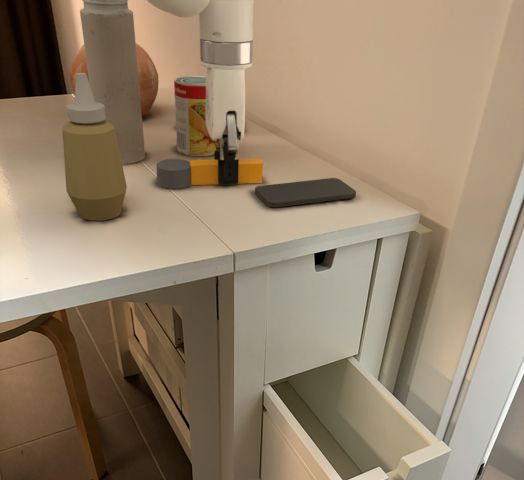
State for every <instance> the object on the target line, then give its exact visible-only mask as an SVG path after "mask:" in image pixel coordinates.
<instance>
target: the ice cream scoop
mask: <svg viewBox="0 0 524 480" xmlns="http://www.w3.org/2000/svg"><path fill="white" fill-rule="evenodd" d="M238 159H239V172H238V183H237V184H236V185H238V184H262V183H263V171H264V163H263V161H262V160H261V158H238ZM155 169H156V181H157V185H158V186H159V187H161V188H164V189H169V190H180V189H186V188H189V187H191V186H205V185H206V186H207V185H208V186H209V185H211V186H212V185H220V184H219V182H218V159H216V160H215V159H189V160H186V159H181V158H166V159H163V160H159V161H158V162H157V163H156V166H155Z"/></svg>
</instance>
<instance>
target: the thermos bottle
mask: <svg viewBox="0 0 524 480" xmlns="http://www.w3.org/2000/svg"><path fill="white" fill-rule="evenodd" d="M81 1H82V2H83V8H81V9H80V10H79V16H80V23H81V30H82V39H83V45H84V46H85V54H86V61H87V69H88V76H89V84H90V87H91V90H92V93H93V96H94V99H95V102H98V103H102V104H103V105H104V106H105V114H106V119H105V120H106V121H108V122H110V123H111V124H112V125H113V126H114V128H115V133H116V138H117V142H118V147H119V152H120V157H121V161H122V165H125V164H127V165H128V164H134V163H137V162H138V163H139V162H141V161H143V160H144V159H145V157H146V149H145V148H146V147H145V137H144V125H143V119H142V115H141V104H140V89H139V77H138V66H137V54H136V43H137V42H136V31H135V20H134V12H133V10H131V9H130V8H129V5H128V1H129V0H81Z"/></svg>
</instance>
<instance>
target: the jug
mask: <svg viewBox="0 0 524 480" xmlns="http://www.w3.org/2000/svg"><path fill="white" fill-rule="evenodd" d="M136 54H137V66H138V77H139V89H140V104H141V115H142V120H144V119H145V118H147V116H148V114H149V112H150V111H151V109H152V107H153V105H154V103H155V101H156V98H157V97H158V92H159V74H158V70H157V68H156V65H155V63H154V61H153V59H152V57H151V56H150V54H149V53H148V52H147V51H146V50H145V48H144V47H142V46H141V45H140V44H138V43H137V42H136ZM77 73H86V75H87V78H88V81H89V76H88V69H87V61H86V54H85V46H84V44H83V45H82V46H81V47H80V48H79V50H78V51H77V53H76V55H75V56H74V58H73V60H72V63H71V64H70V66H69V72H68V77H69V82H70V87H71V89H72V93H73V94H74V95H75V86H76V74H77Z"/></svg>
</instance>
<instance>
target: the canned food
mask: <svg viewBox="0 0 524 480" xmlns="http://www.w3.org/2000/svg"><path fill="white" fill-rule="evenodd" d="M173 85H174V86H173V88H174V89H173V90H174V107H175V109H174V110H175V127H176V145H177V146H176V147H177V148H176V149H177V151H178V152H179V153H180V154H183V155H185V156H191V157H208V156H213V155H214V150H216V149H215V141H214V140H213V139H212V138H211V137H210V135H209V132H208V130H207V128H206V75H200V74H199V75H198V74H196V75H195V74H193V75H191V74H189V75H181V76H176V77H174V79H173Z"/></svg>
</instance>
